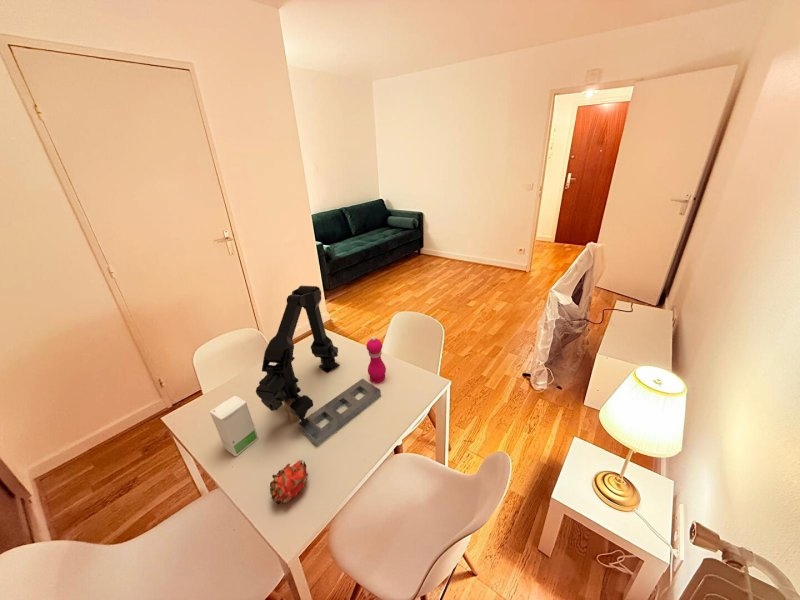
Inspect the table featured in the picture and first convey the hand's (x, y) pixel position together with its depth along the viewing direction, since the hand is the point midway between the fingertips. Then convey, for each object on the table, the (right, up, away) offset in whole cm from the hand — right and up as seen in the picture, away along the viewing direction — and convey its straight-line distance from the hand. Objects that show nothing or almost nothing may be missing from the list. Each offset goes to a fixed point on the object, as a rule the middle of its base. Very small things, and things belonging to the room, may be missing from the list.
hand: (295, 413), depth 103 cm
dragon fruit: (+7, -12, -22) cm, 26 cm away
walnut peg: (0, -2, +1) cm, 2 cm away
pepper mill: (+27, +7, +17) cm, 33 cm away
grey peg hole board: (+16, 0, +2) cm, 16 cm away
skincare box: (-14, -7, -8) cm, 18 cm away
